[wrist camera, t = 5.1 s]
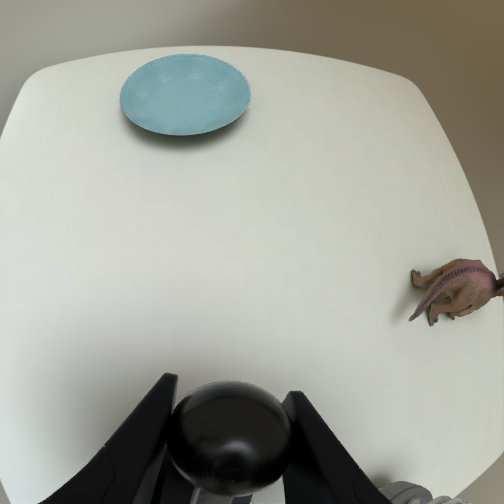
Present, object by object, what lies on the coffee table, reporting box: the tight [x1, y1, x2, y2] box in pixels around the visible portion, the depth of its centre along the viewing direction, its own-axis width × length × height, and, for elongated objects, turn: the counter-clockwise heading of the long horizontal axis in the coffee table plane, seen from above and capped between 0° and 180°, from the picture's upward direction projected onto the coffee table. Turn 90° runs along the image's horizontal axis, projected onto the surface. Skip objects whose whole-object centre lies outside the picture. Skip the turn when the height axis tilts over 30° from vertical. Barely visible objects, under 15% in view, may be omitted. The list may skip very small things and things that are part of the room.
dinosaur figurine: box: [409, 259, 504, 326], centre depth 20 cm, size 14×6×9 cm, turn 93°
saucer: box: [120, 54, 251, 135], centre depth 24 cm, size 12×12×2 cm
